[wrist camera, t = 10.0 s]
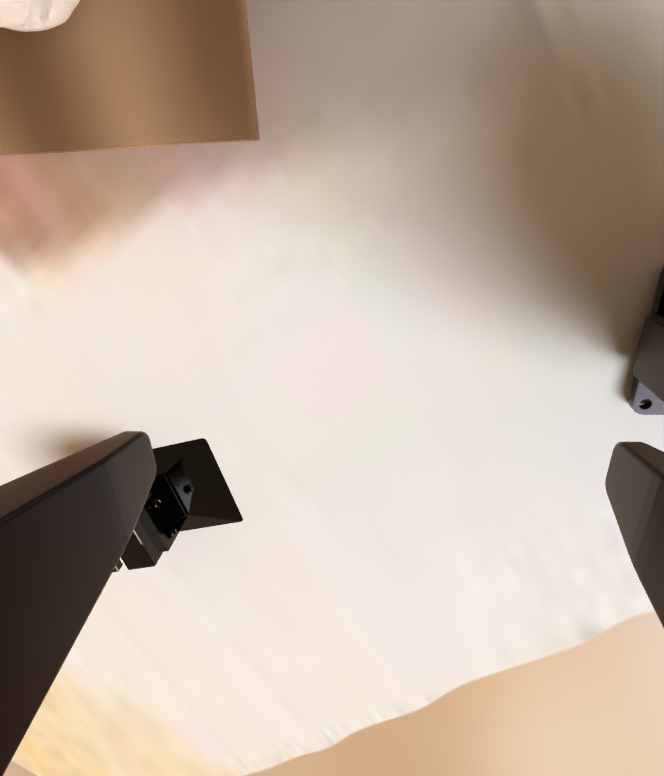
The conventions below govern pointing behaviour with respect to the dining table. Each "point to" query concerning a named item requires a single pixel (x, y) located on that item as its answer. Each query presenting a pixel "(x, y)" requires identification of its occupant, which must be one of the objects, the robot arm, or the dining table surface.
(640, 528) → the robot arm
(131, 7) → the walnut stand
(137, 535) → the build plate
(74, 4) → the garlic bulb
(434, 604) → the dining table surface
